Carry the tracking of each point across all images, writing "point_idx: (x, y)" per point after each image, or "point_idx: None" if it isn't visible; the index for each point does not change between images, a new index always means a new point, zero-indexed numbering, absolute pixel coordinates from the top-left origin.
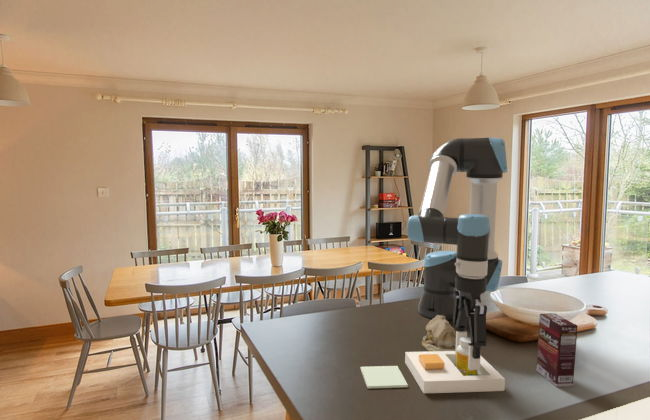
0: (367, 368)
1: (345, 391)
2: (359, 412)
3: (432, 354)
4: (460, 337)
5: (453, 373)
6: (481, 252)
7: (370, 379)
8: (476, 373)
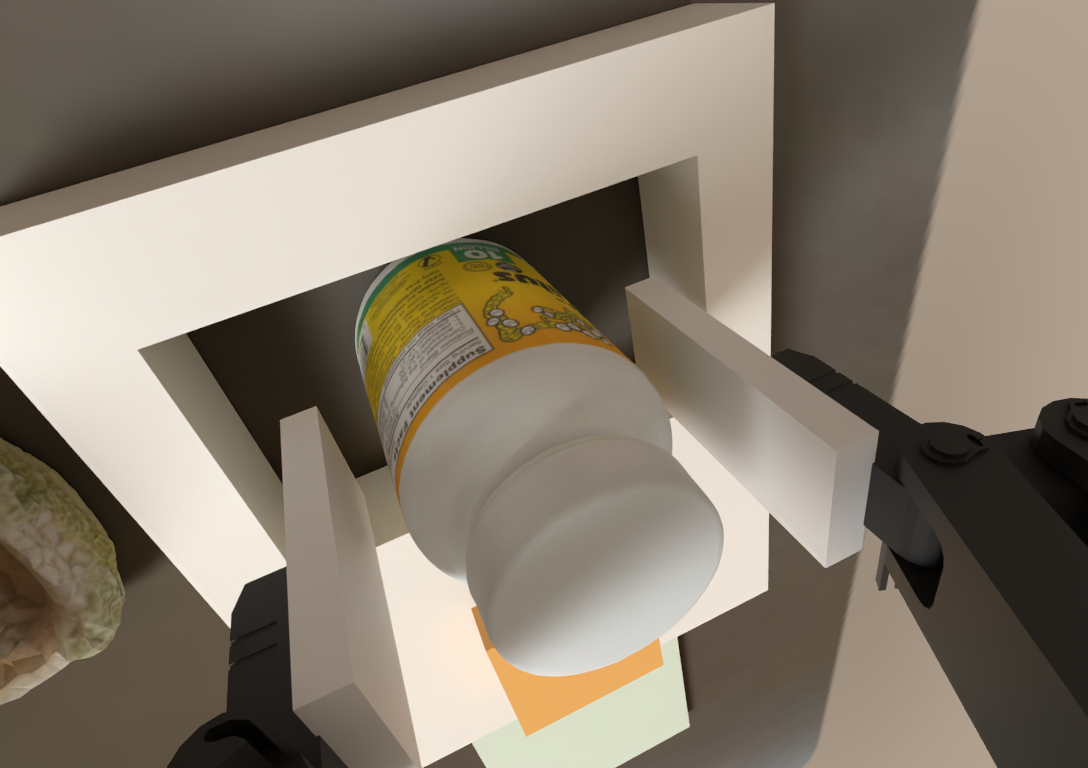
0: None
1: (703, 752)
2: (825, 668)
3: (504, 675)
4: (385, 663)
5: None
6: None
7: (635, 743)
8: (529, 265)
